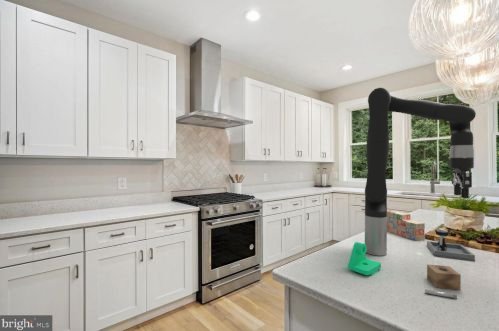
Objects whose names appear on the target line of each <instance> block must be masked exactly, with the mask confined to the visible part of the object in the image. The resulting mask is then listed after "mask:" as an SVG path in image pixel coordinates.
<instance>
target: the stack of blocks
mask: <svg viewBox="0 0 499 331" xmlns="http://www.w3.org/2000/svg"><path fill="white" fill-rule="evenodd" d="M425 229H426V228H425V222H421V221H418V220H413V219H411V214H410V213H407V212H402V211H399V210H398V211H396V210H387V232H389V233H392V234H393V235H394V234H395V235H397V236H401V237H403V238H407V239H409V240H412V241H414V242H417V241H425Z"/></svg>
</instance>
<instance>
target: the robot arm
mask: <svg viewBox="0 0 499 331" xmlns="http://www.w3.org/2000/svg"><path fill="white" fill-rule="evenodd" d="M367 103H368V112H369V113H368V114H369V117H368V118H369V119H368V120H369V121H368V127H367V134H366V148H365V149H366V150H365V151H366V155H365V156H366V164H367V166H366V167H367V175H366V181H365V189H364V244H365V245H366V248H367V249H366V253H365V254H369V255H371V256H378V257H380V256H386V255H387V251H388V245H387V244H388V231H387V211H388V204H387V203H388V189H387V179H386V178H387V176H386V174H387V165H388V159H389V152H390V132H389V129H390V128H389V122H388V119H389V118H388V115H389V112H391V113H399V114H406V115H410V116H415V117H419V118H423V119H424V118H425V119H428V120H429V119H430V120H432V121H433V120H434V121H447V122H448V123H449V131H450V149H449V168H450V169H454V170H452V171H451V172H452V173H451V184H452V185H453V195H454V196H460V198H462V199H468V198H469V197H470V188H472V186H473V181H472V180H473V179H472V178H473V176H472V175H473V174H472V171H469V170H468V169H474V166H475V164H474V163H475V150H474V134H473V132H472V131H471V123H472V121H473V120H474V119H475V118H476V111H475V109H474V108H472V107H470V106H468V105H462V104H451V103H450V104H448V103H441V102H436V101H431V100H424V99H409V98H408V99H407V98H406V99H404V98H401V97H398V96H397V97H396V96H393V95H391V93H390V92H389V90H388V89H386V88H384V87H377V88H374V89H373V90H371V91H370V93H369V95H368V97H367Z"/></svg>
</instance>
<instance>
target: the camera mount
mask: <svg viewBox="0 0 499 331" xmlns="http://www.w3.org/2000/svg"><path fill="white" fill-rule="evenodd" d="M366 249H367V248H366V245H365V243H362V242H358V241H356V242H354V244H353V247H352V249H351V254H350V256H349V260H348V263H347V269H348V270H350V271H353V272H357V273H360V274H361V275H365V276H369V275H370V276H373V275H376V274H377V273H378V272H379V269H381V268H382V263H381V262H379V261H377V260H373V259H370V258H367V256H366V254H367V253H366Z"/></svg>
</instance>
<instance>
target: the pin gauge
mask: <svg viewBox="0 0 499 331" xmlns="http://www.w3.org/2000/svg"><path fill="white" fill-rule="evenodd" d="M424 294H426V295H427V294H428V295H432V296H433V295H434V296H437V297H444V298H449V299H458V297H457V296H458V295H457V294H456V293H455V294H454V293H448V292H444V291H437V290H431V289H424Z"/></svg>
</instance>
